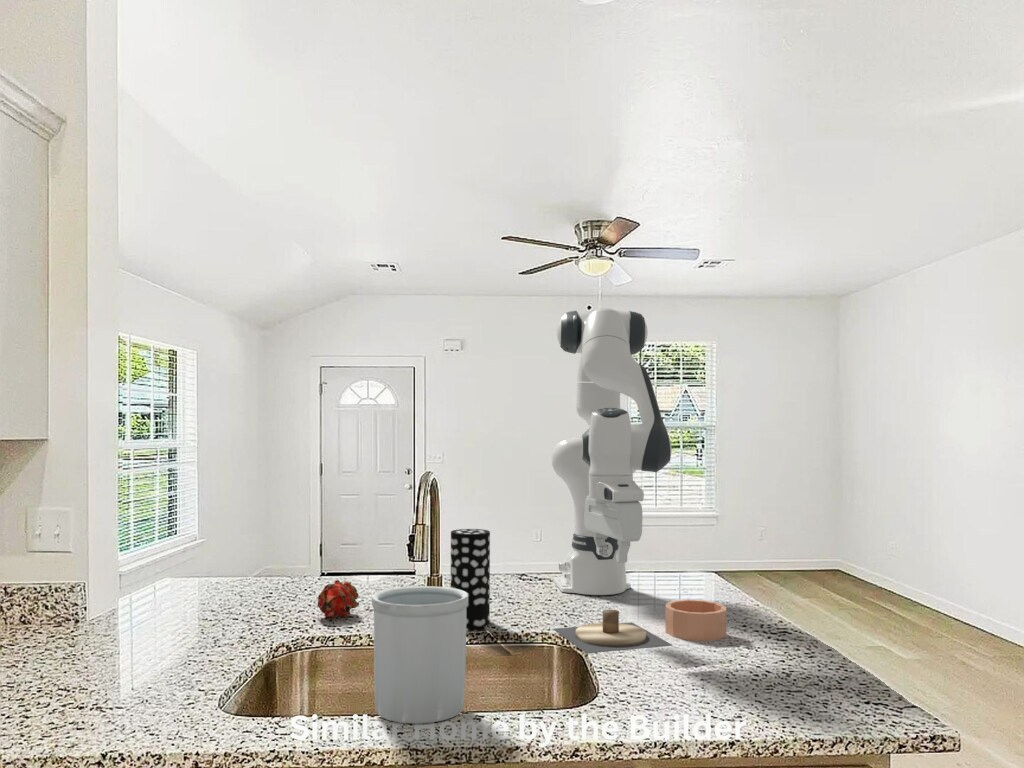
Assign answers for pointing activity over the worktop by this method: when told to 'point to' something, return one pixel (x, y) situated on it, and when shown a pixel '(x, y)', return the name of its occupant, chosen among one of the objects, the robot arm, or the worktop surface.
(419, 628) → the utensil holder
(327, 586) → the dragon fruit
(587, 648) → the mat
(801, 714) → the worktop surface
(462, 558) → the white-spotted black cylinder
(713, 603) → the bowl
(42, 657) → the worktop surface
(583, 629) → the lid
